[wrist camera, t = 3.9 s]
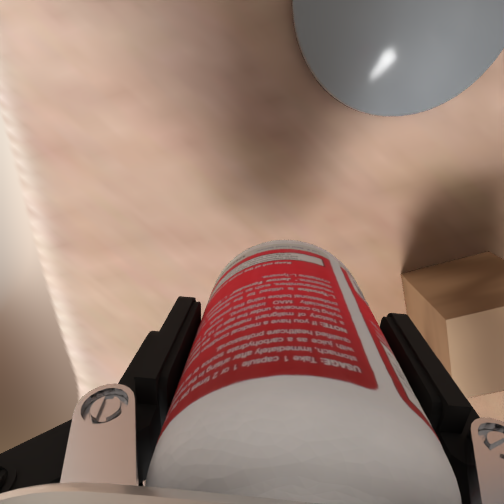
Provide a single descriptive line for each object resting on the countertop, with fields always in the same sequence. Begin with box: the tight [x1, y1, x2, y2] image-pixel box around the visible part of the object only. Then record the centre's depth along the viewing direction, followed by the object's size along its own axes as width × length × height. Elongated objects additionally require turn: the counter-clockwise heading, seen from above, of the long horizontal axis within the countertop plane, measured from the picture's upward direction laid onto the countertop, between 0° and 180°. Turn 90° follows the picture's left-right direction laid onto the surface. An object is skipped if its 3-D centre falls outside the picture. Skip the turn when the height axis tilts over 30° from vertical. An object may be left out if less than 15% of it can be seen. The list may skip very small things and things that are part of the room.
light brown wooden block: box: [401, 251, 504, 399], centre depth 17 cm, size 5×5×5 cm
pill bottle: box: [145, 240, 462, 504], centre depth 9 cm, size 6×6×11 cm
